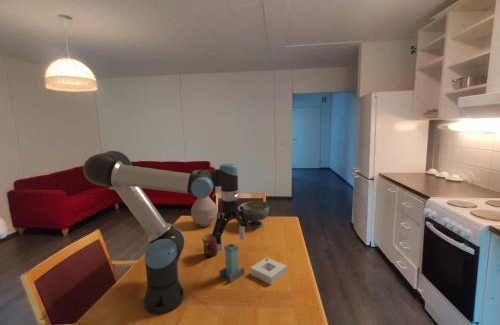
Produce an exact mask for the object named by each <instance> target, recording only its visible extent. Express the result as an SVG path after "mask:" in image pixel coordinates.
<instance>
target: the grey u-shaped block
mask: <svg viewBox="0 0 500 325" xmlns="http://www.w3.org/2000/svg"><path fill="white" fill-rule="evenodd" d="M218 272H219V278H221V279H223V280H224V281H226V282H227V283H229V284H231V283H233V282H235V281H236V280H238V279H239V278H241V277H242V276H244V275H245V267H244V266H242V267H240V268H238V270H237V271H235V272H233V273H232V274H230V275H229V276H226V266H225V267H223V268H221V269H220V270H219V271H218Z"/></svg>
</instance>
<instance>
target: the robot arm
mask: <svg viewBox="0 0 500 325" xmlns="http://www.w3.org/2000/svg"><path fill="white" fill-rule="evenodd" d="M82 172H83V175H84V177H85V179H86V180H87V181H88V182H90V183H91V184H94V185H96V186H100V187H101V186H103V187H107V188H108V189H109V190H114V191H115V192H116V194H118V196H119V197H120V198H121V200H122V201H123V203H124V204H125V205H126V206H127V208H128V210H129V211H130V213H131V214H132V215H133V216H134V218H135V219H136V220H137V222H138V223H139V225H140V226H141V227H142V229H143V230H144V231H145V233H146V234H147V236H148V239H147V242H148V244H149V245H148V244H147V246H146V248H145V250H144V262H145V263H144V264H145V275H146V282H147V283H146V284H147V287H146V288H145V289H146V290H145V293H144V297H143V307H144V309H145V311H147V312H148V313H150V314H153V315H162V314H166V313H169V312H171V311H173V310H176V309H177V308H178V307H179V306H181V304H182V303H183V301H184V298H185V293H184V288H183V286H182V284H181V282H180V279H179V269H178V268H179V267H178V263H179V259H180V258H181V254H182V252H183V249H184V247H185V236H184V234H183V232H182V231H181V230H180V229H179V228H175V227H174V226H173V224H172V223H169V222H168V223H167V222H166V221H165V220H164V218H163V217H162V215H161V214H160V212H159V211H158V210H157V208H156V207H155V205H154V204H153V203H152V201H151V200H150V199H149V197H148V196H147V194H146V193H145V192H144V190H143V189H150V190H158V191H165V192H166V191H167V192H172V193H183V194H189V195H194V196H195V197H197V199H198V198H205V197H207V196H209V197H210V194H211V193H212V192H213V190H214V188H216V187H217V188H220V199H221V209H222V212H217V217H216V220H215V224H214V225H213V226H214V227H213V230H212V233H211V234H212V236H214V237H216V243H217V246H218V251H220V252H224V237H223V233H224V230H226V227H227V224H229V222H230V221H232V220H236V221H237V223H238V224H239V226H238V229H239V230H238V231H239V232H238V233H239V234H238V235H239V239H240V240H242V241H245V240H246V227H247V226H248V224H249V221H248V220H247V217H246V215H245V213H244V211H243V207H242V206H240V205H239V204H240V201H239V200H240V199H239V176H238V175H239V174H238V166H237V165H236V164H235V163H223V164H220V166H219V168H217V169H198V170H193V171H192V172H191V173H188V172H179V171H173V170H165V169H164V170H163V169H157V168H150V167H145V166H143V167H142V166H137V165H136V166H135V165H132V161H131V158H130V157H129V156H128V155H127V154H126V153H124V152H122V151H119V150H108V151H106V152H103V153H102V152H101V153H97V154H94V155H91V156H90V157H89V158H88V159H86V160H85V161H84V165H83V167H82Z"/></svg>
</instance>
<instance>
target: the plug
mask: <svg viewBox="0 0 500 325" xmlns="http://www.w3.org/2000/svg"><path fill="white" fill-rule="evenodd" d="M238 250H239V246H238V245H235V244H233V243H230V244H228V245H226V246H224V253H225V254H224V256H225V257H224V258H225V260H224V261H225V267H226V276H229V275H230V274H232V273H233V272H235V271H237V270H238V269H239V251H238Z"/></svg>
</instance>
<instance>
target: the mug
mask: <svg viewBox="0 0 500 325" xmlns="http://www.w3.org/2000/svg"><path fill="white" fill-rule="evenodd" d="M201 240H202V243H203V254H204V257H206V258H209V259H211V258H214V257H216V256H218V252H219V250H218V244H217V243H216V237H214V236H212V233H206V234H204V235H203V236H202V237H201Z"/></svg>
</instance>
